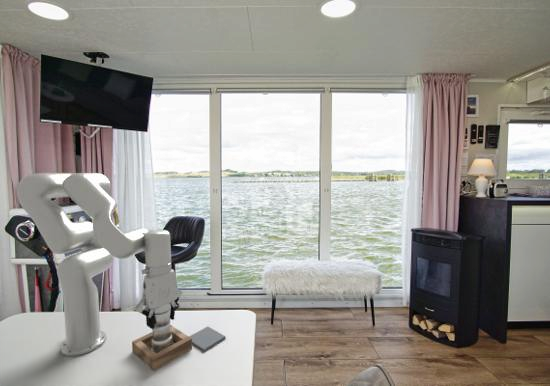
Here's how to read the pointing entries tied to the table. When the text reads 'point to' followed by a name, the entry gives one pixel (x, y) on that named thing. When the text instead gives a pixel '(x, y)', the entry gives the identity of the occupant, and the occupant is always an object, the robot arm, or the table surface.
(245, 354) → the table surface
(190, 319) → the table surface
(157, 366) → the wooden frame
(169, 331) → the plastic bottle
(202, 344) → the rubber mat
